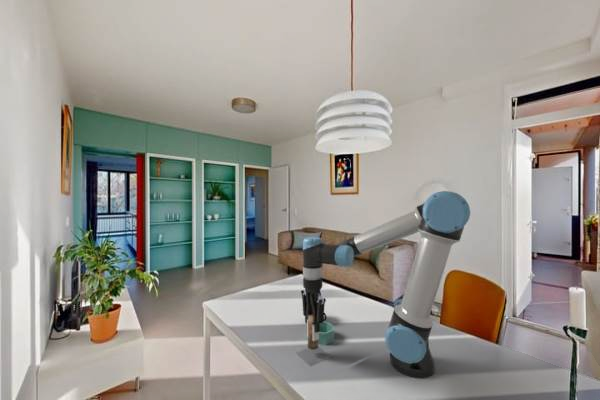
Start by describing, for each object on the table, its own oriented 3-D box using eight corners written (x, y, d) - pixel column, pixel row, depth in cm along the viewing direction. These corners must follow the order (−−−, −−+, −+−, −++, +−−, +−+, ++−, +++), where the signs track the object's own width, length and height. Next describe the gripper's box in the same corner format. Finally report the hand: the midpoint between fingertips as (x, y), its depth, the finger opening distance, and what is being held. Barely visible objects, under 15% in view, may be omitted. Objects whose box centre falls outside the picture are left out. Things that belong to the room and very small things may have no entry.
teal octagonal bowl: (338, 341, 110) (338, 328, 110) (319, 349, 104) (319, 335, 104) (323, 331, 118) (323, 319, 118) (304, 337, 113) (304, 325, 113)
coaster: (331, 359, 97) (331, 356, 97) (310, 368, 92) (310, 366, 92) (315, 346, 106) (315, 344, 106) (295, 354, 100) (295, 352, 100)
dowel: (320, 347, 98) (320, 316, 98) (311, 350, 96) (311, 319, 96) (314, 342, 101) (314, 312, 101) (305, 345, 99) (305, 315, 99)
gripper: (333, 280, 95) (333, 344, 94) (308, 271, 108) (309, 327, 107) (317, 284, 90) (317, 350, 90) (293, 274, 104) (294, 332, 103)
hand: (313, 337), depth 99 cm, fingers closed on dowel, 3 cm apart
